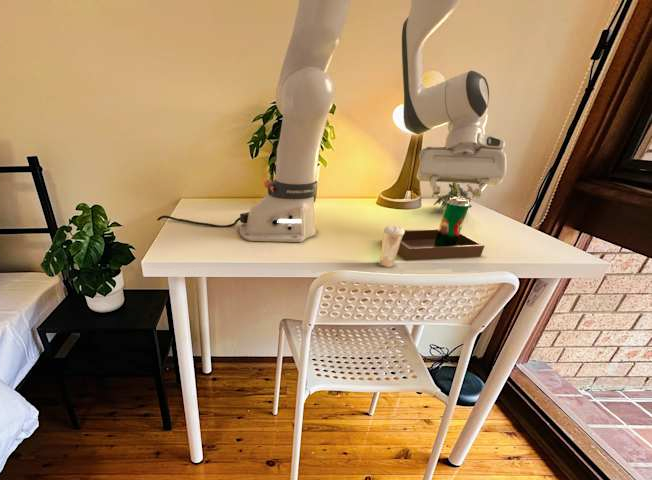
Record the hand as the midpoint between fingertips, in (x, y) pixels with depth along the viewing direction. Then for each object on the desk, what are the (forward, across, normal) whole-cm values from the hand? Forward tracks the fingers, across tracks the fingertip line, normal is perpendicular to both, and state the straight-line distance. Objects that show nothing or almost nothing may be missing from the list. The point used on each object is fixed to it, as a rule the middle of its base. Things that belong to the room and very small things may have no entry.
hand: (455, 195), depth 95 cm
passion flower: (-14, +6, +32) cm, 35 cm away
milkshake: (+24, -14, -7) cm, 29 cm away
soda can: (+12, 0, +4) cm, 13 cm away
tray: (+14, -4, +4) cm, 14 cm away
